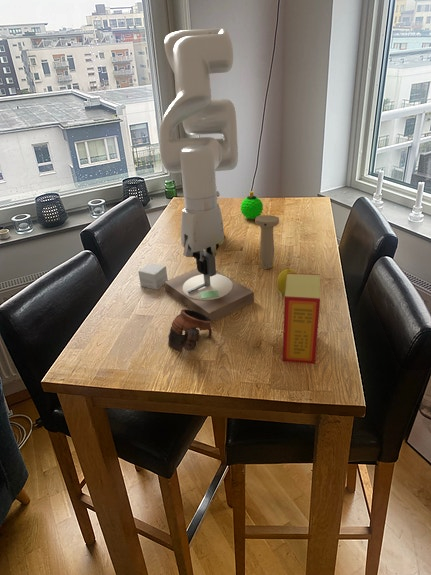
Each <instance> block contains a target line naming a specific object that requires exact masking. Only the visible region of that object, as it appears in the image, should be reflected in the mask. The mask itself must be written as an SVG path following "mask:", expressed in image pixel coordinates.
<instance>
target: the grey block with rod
mask: <svg viewBox="0 0 431 575" xmlns="http://www.w3.org/2000/svg"><path fill="white" fill-rule="evenodd" d="M204 260H206V263H207V275H204V284H202V285H200V286H197V287H195V288H193V289H190V290H188V293H191V292H193V291H195V290H198V289H200V288H202V287H204V286H207V287H208V286H210V285H211V283H210V276H211V277H212V276H214V275H216V270H217V267H216V265H217V264H216V256H213V255H211V254H209V253H207V252H206V250H204ZM195 261H196V260H195ZM196 264H197V261H196Z"/></svg>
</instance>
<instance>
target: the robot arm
mask: <svg viewBox="0 0 431 575" xmlns="http://www.w3.org/2000/svg"><path fill="white" fill-rule="evenodd" d="M233 48H234V46H233V43H232V39H231V37H230V34H229V32H228V30H227V29H225V28H223V27H221V28H220V27H219V28H218V27H216V28H204V29H202V28H201V29H198V28H197V29H187V30H186V29H185V30H178V31H174V32H170V33H168V34H167V35H166V36H165V38H164V51H165V54H166V58H167V61H168V63H169V65H170V67H171V70H172V72H173V74H174V82H175V84H174V85H175V99H174V100H173V101H172V102H171V104H170V105H169V106H168V108H166V111H165V113H164V114H163V116H162V118H161V121H160V124H159V149H160V150H159V151H160V160H161V164H162V167H163V168H164V170H165V171H167V173H168V172H169V173H171V174H172V173H173V174H176V173H181V180H182V181H181V182H182V192H183V201H184V203H183V204H184V208H183V209H181V210H182V211H181V217H180V240H181V246H182V247H183V248H184V249H183V256H184V257H187V258H194V259H195V261H197V263H196V269H197V270H198V271H199V272H200V273H202V274H204V275H207V263H206V260H204V251H205V252H207V253H209V254H211V255H213V256H215V257H216V255H217V252H218V249H219V248H220V246H221V245H222V244H224V242H226V241H225V237H224V236H225V231H224V222H223V221H224V220H223V216H222V212H221V211H222V210H221V208H220V205H219V203H218V197H220V192H219V191H218V190H217V181H216V180H217V179H216V172H224V171H225V172H226V171H231V170H234V169H235V168H236V167H238V166H237V165H238V162H239V146H238V129H237V128H238V126H237V124H238V123H237V114H236V108H235V105H234V103H233V102H232V101H231V100H230V99H227V98H217V99H212V92H211V91H212V90H211V80H210V79H211V78H210V74H211V75H213V74H222V73H223V74H224V73H225V74H226V73H229V72H230V71H231V70H232V67H233V63H234V49H233ZM180 123H182V126H183V130H184V132H185V133H186V134H187V135H189V136H202V137H185V138H173V139H172V136H173V132H174V131H175V128H176V127H177V126H178V125H180ZM205 135H206V136H205ZM207 135H220V136H221V138H215V137H211V136H210V137H209V136H208V137H207ZM203 136H205V137H203Z"/></svg>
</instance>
